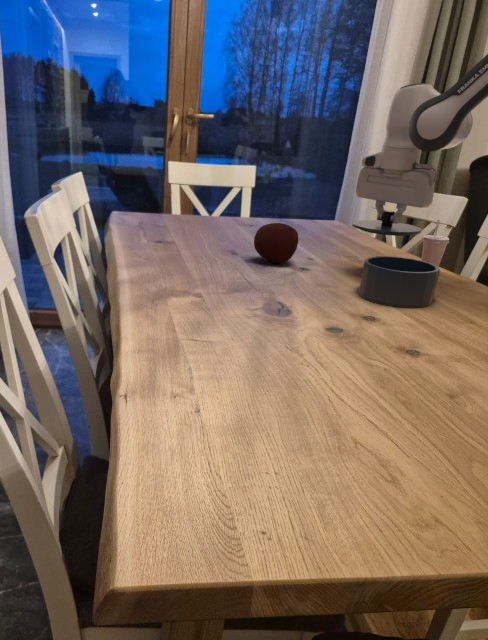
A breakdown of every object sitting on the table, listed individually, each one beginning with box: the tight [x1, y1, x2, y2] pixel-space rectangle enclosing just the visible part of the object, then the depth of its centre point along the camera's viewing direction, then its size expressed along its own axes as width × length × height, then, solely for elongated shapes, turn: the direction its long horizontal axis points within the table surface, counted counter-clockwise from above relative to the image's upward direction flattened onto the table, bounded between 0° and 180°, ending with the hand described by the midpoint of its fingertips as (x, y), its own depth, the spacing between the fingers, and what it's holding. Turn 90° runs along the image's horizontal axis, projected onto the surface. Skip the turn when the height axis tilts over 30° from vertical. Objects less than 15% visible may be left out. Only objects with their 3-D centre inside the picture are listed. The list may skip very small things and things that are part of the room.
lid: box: [351, 209, 423, 237], centre depth 142 cm, size 17×17×5 cm
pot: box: [358, 255, 441, 309], centre depth 127 cm, size 16×16×8 cm
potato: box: [253, 222, 300, 264], centre depth 153 cm, size 11×13×10 cm
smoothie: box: [421, 219, 450, 268], centre depth 147 cm, size 6×6×14 cm
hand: (387, 221), depth 142 cm, fingers closed on lid, 2 cm apart
